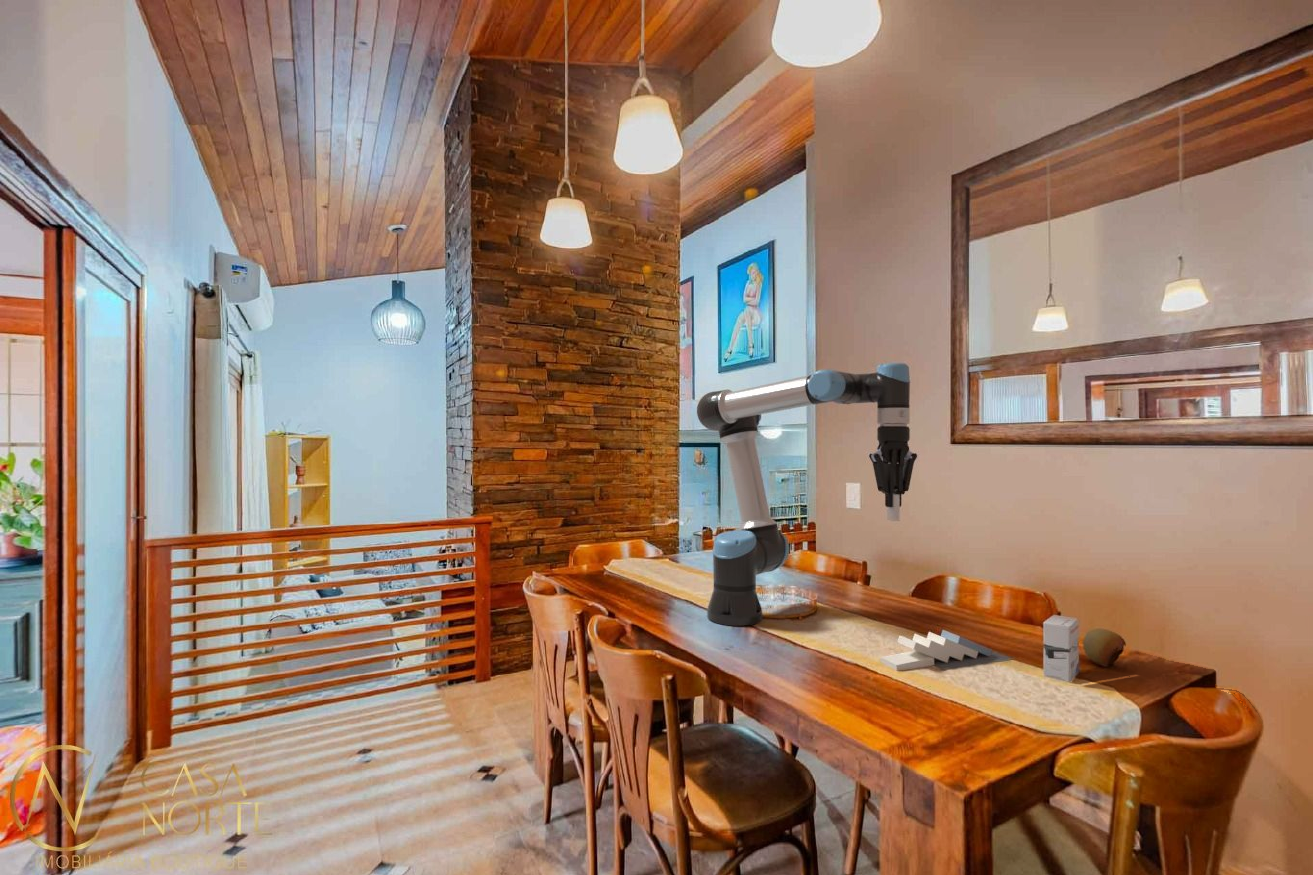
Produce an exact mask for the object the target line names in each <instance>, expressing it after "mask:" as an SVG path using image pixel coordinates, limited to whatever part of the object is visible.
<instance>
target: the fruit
mask: <svg viewBox="0 0 1313 875" xmlns="http://www.w3.org/2000/svg"><path fill="white" fill-rule="evenodd" d="M1126 645H1127V644H1126V641H1125V639H1124V638H1123V637H1122V636H1121V635H1120V634H1118V633H1116V632H1115V631H1112V630H1110V629H1109V630H1108V629H1106V628H1094V629H1091V630H1089V631H1088V632H1087V633H1086V634H1085V635H1084V637H1083V640H1082V647H1083V650H1084V653H1085V655H1086V656H1087V657H1088V659H1089V660H1091V662H1093V663H1094V664H1097V665H1099V666H1101V667H1103V668H1106V667H1108V666H1109V664H1110V665H1111V666H1114V665H1115V662H1116V661H1117V660H1118V659H1119V657H1120V655H1121V654H1123V652H1124V648H1125V647H1126Z"/></svg>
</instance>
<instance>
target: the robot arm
mask: <svg viewBox="0 0 1313 875" xmlns="http://www.w3.org/2000/svg"><path fill="white" fill-rule="evenodd" d="M876 369H877V370H876V372H874V373H856V374H855V373H851V372H850V373H849V372H843V371H839V370H835V369H830V368H828V369H820V370H816V371H815V372H813V374H809V375H804V376H800V377H795V378H792V379H786V380H781V381H777V382H772V383H766V384H764V385H759V386H753V387H749V388H745V389H740V390H739V389H738V390H734V391H733V390H731V389H722V390H717V391H715V390H714V391H710V392H707V393H706V394H704V395H703V396H702V397H701V398H700V399H699V401H698V403H697V406H696V416H697V419H698V421H699V423H700V424H701V425H702V426H704V427H705V428H706V429H709V430H711V431H715V432H718V435H719V439H720V441H721V442H722V443H723V444H725V445H726V450H727V455H728V460H729V465H730V470H731V475H732V478H733V480H732V481H733V485H734V490H735V494H736V500H737V506H738V510H739V511H738V512H739V516H740V522H741V523H740V525H739V526H738V529H737V530H735V529H734V530H728V531H724V532H721V533H718V534H717V535H716V537H714V539H713V548H712V554H713V555H712V556H713V557H712V559H713V561H712V562H713V563H712V564H713V591H712V593H711V597H710V600H709V603H708V606H707V612H706V617H707V619H708V620H709V621H711V622H713V623H716V624H719V625H723V626H725V625H726V626H734V627H735V626H737V627H738V626H739V627H740V626H742V627H744V626H750V625H755V624H758V623H760V622H762V621H763V609H762V606H761V603H760V598H759V596H758V592H757V587H756V586H757V584H756V581H757V577H756V576H759V575H761V574H764V573H769V572H773V571H775V570H777V569H779V568H781V567H782V566H783V565H784V564H785V563H786V561H787V560H788V558H789V554H790V544H789V540H788V539H787V537H786V535H784V534H783V533H782V531H780V530H779V527H778V522H776V520H774V519H773V518H771V514H770V509H769V505H768V498H767V496H766V495H767V494H766V490H765V485H764V478H763V475H762V474H763V473H762V468H761V465H760V460H759V455H758V451H757V445H756V440H755V439H756V437H758V436H757V435H758V434H759V429H758V426H759V425H760V421H761V419H762V415H765V414H769V413H775V412H781V411H786V410H791V409H795V408H796V409H798V408H801V407H806V406H813V405H819V404H820V405H821V404H827V403H832V402H834V403H835V404H837V405H839V404H842V405H851V404H865V403H866V404H868V403H877V404H876V405H877V406H876V408H877V410H876V414H877V416H876V417H877V418H876V423H877V425H879V426H878V427H877V428H876V429H877V432H876V433H877V434H876V436H877V437H876V438H877V441H878V446H877V448H876V449H877V450H876V451H875V452H873V453H869V455H868V458H869V459H870V461H871V463H872V466H873V472H874V478H875V481H876V488H877V490H878V492H881V493H882V494H884V500H885V501H884V505H885V508H887V509H886V520H887V521H891V522H892V521H893V522H899V521H900V518H901V517H900V515H901V514H900V508H901V506H902V495H904V494H905V493H906V492H908V491H909V489H910V484H911V478H912V476H913V475H912V474H913V469H914V466H915V461H916V460H917V458H918V454H917V453H916V452H915V453H914V452H912V451H911V450H910V446H909V444H908V442H909V441H910V440H911V439H910V438H911V436H910V434H911V433H910V432H911V430H910V429H911V428H910V427H909V426H908V425H909V424H910V423H911V422H910V414H911V413H910V412H911V411H910V409H911V408H910V399H911V398H910V394H911V393H910V391H911V388H910V387H911V379H910V377H911V376H910V367H909V365H908V364H906V363H903V362H888V363H887V362H886V363H881V364H879V365H877V368H876Z"/></svg>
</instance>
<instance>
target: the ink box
mask: <svg viewBox="0 0 1313 875" xmlns="http://www.w3.org/2000/svg"><path fill="white" fill-rule="evenodd" d="M1079 622H1080V621H1079V618H1077V617H1071V616H1064V615H1057V614H1053V615H1052V616H1050V617H1048V618H1047V619H1046V620H1044V622H1042V625H1043V633H1042V634H1043V654H1042V655H1043V656H1042V657H1043V664H1042V665H1043V677H1045V678H1049V679H1054V680H1056V681H1061V682H1064V683H1071V682H1072V681H1073V680H1074V679H1075V677H1076V676H1078V674H1079V673H1080V659H1079V658H1080V652H1079V650H1080V648H1079V646H1080V645H1079V643H1080V642H1079V638H1080V637H1079V634H1080V632H1079V631H1080V630H1079V628H1080V626H1079V625H1080V624H1079Z"/></svg>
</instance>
